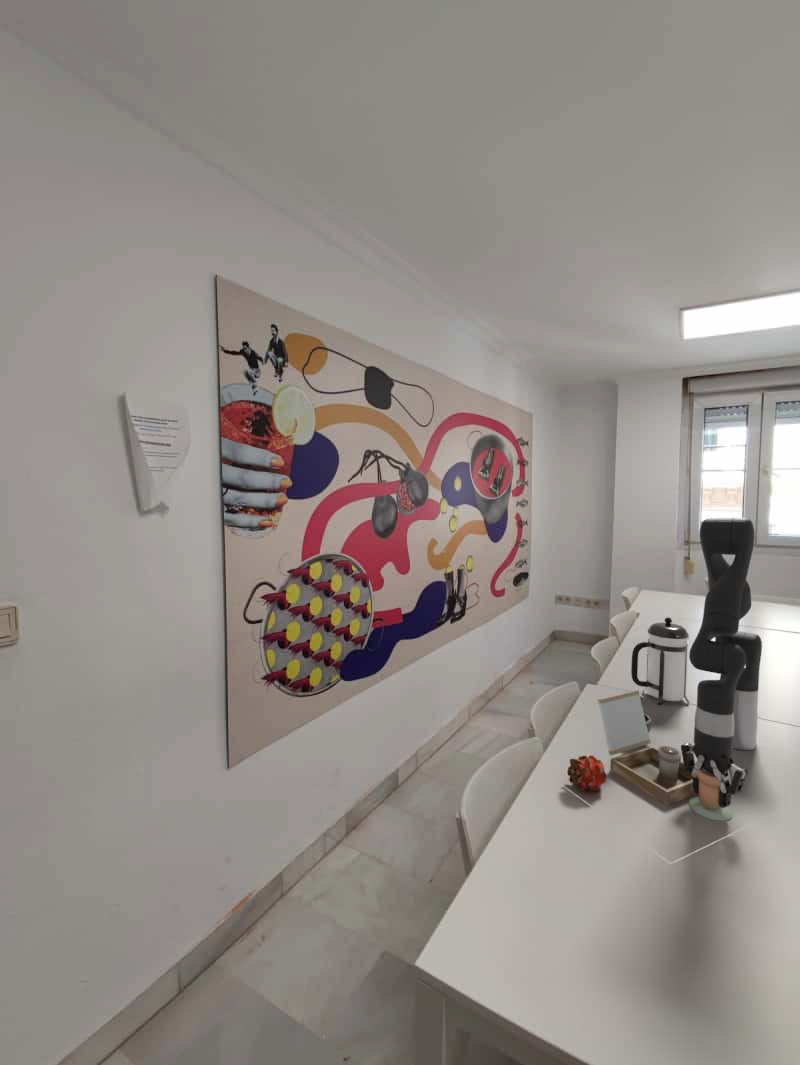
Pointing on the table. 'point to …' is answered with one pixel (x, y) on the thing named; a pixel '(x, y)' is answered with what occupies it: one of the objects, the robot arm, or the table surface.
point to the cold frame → (652, 775)
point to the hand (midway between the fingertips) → (710, 798)
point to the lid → (624, 722)
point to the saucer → (710, 810)
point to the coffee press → (664, 662)
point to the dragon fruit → (587, 773)
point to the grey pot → (669, 762)
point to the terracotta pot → (708, 789)
